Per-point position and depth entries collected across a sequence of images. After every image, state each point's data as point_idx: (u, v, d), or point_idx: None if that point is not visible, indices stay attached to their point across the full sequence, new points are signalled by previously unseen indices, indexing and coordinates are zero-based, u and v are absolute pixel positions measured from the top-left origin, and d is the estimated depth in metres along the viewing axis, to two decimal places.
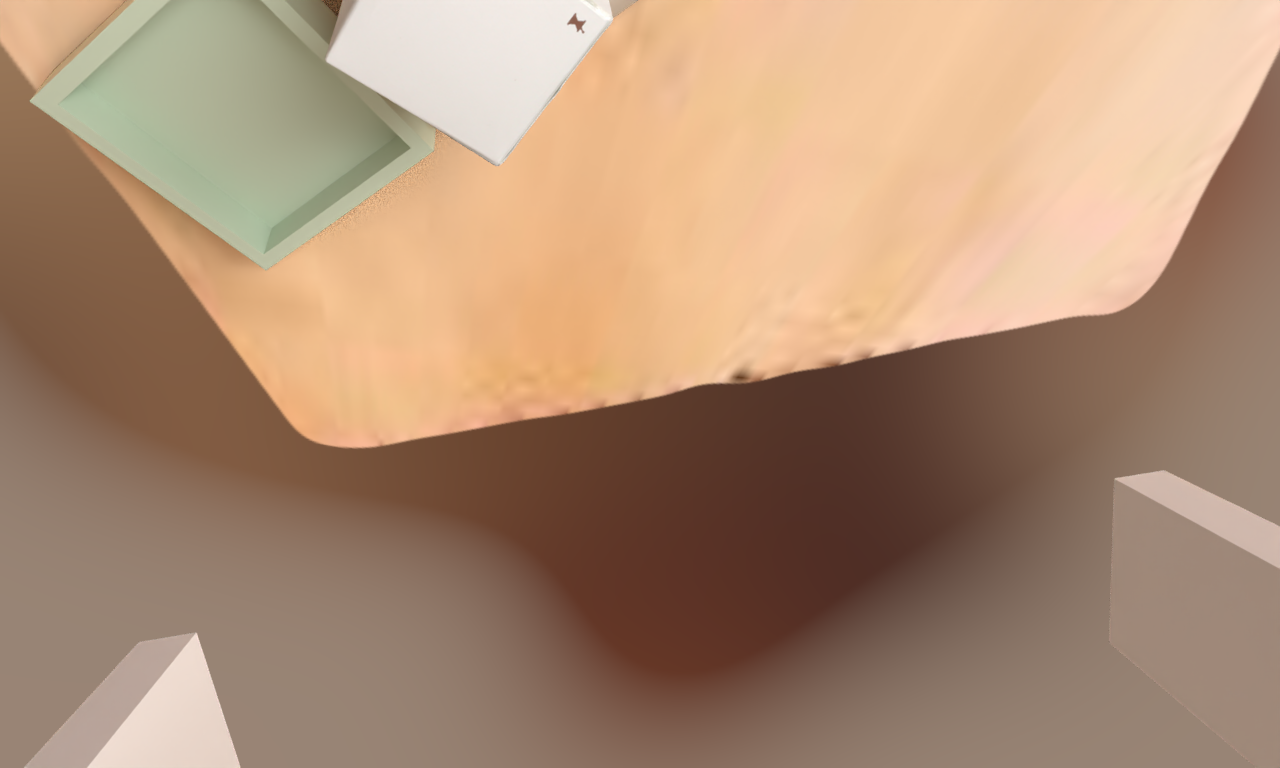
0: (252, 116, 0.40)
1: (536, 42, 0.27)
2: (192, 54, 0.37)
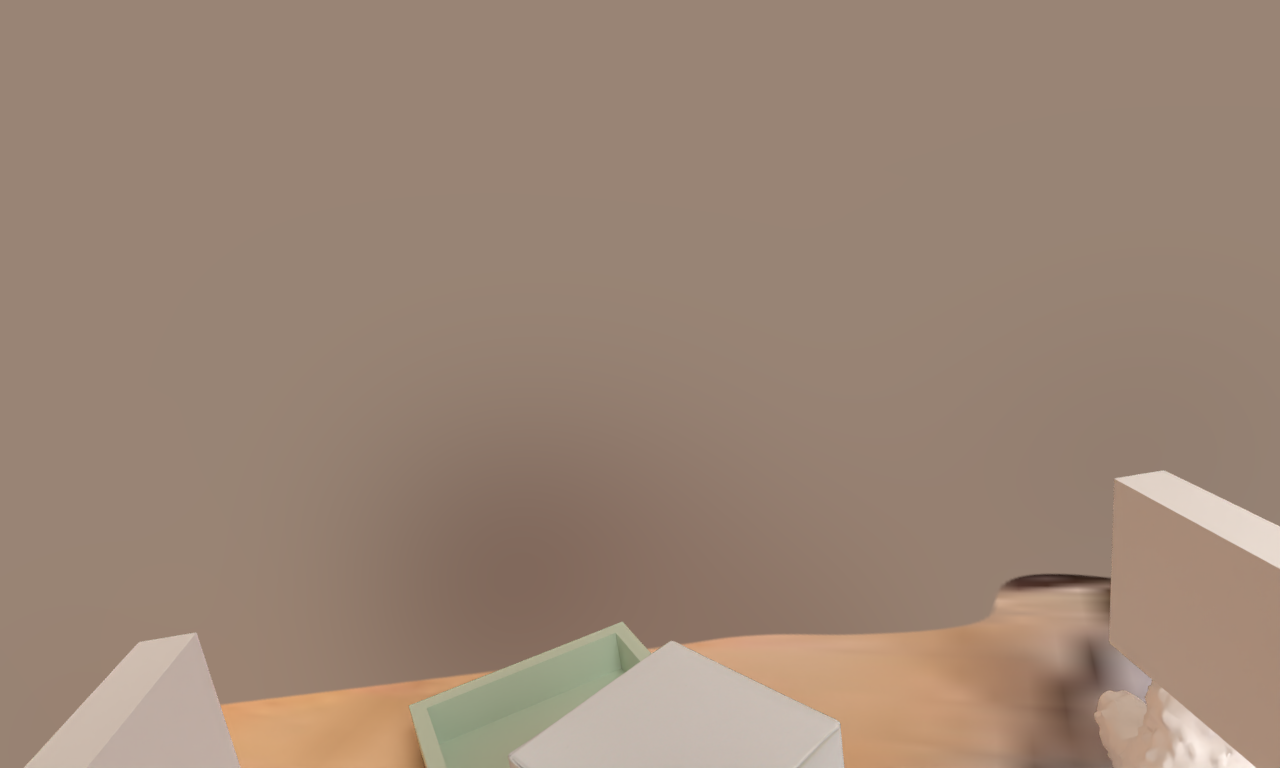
0: None
1: None
2: None
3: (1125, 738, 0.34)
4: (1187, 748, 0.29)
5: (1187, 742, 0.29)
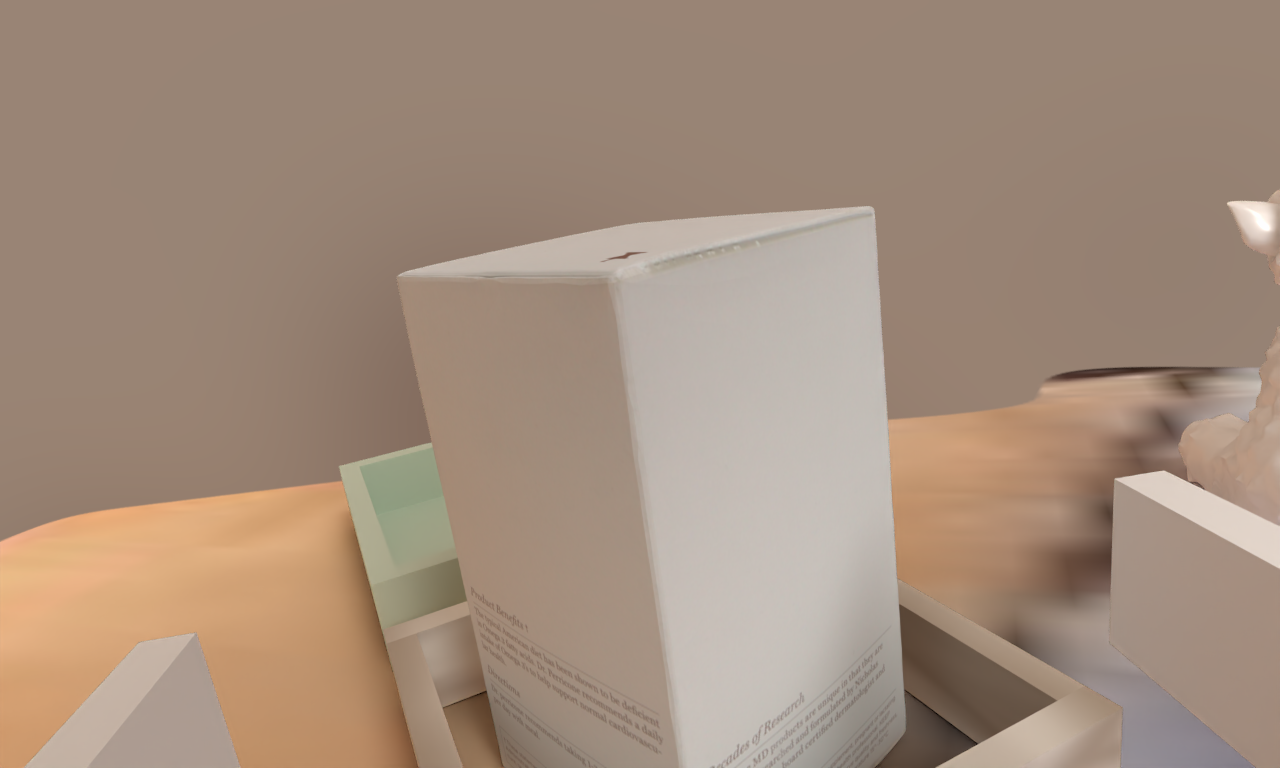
0: None
1: (604, 247, 0.14)
2: None
3: (1226, 445, 0.26)
4: None
5: None
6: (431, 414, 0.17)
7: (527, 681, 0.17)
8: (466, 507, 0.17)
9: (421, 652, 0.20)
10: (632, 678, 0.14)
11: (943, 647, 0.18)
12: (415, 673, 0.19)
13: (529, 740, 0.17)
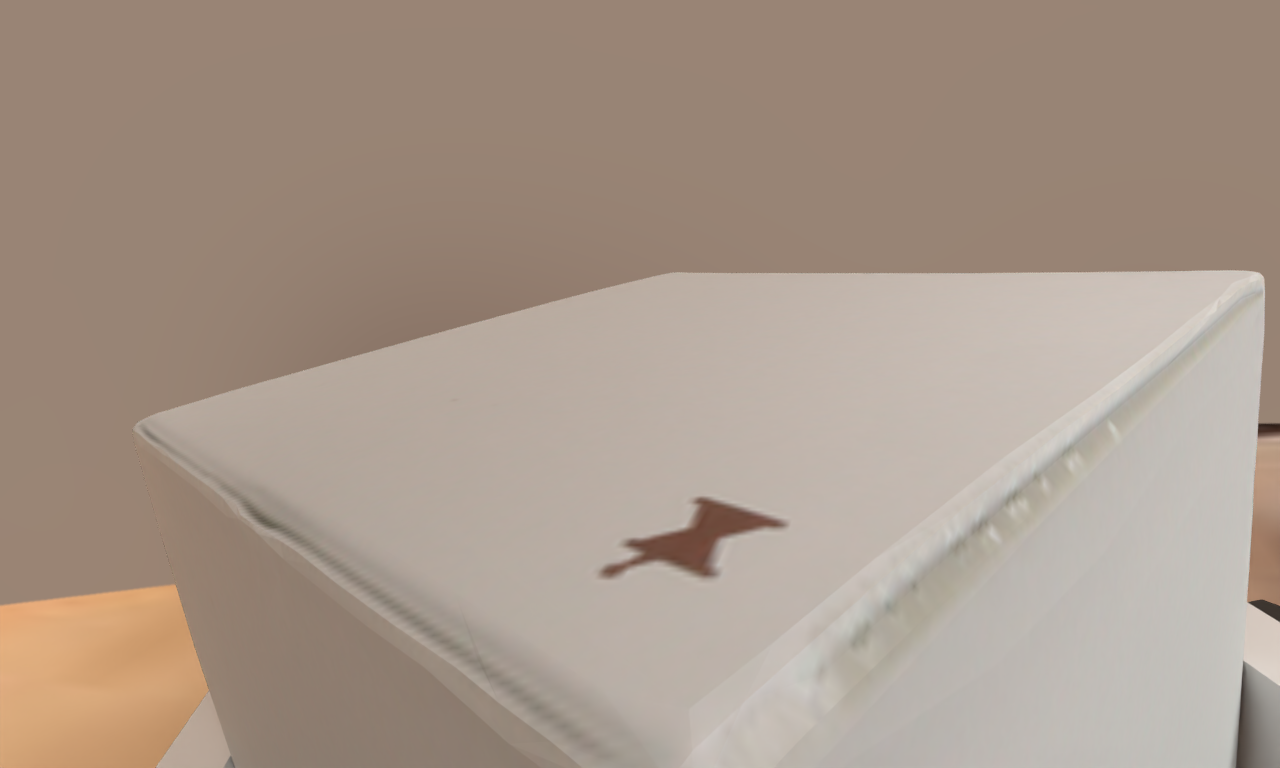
0: None
1: (610, 423, 0.05)
2: None
3: None
4: None
5: None
6: (222, 727, 0.07)
7: None
8: None
9: None
10: None
11: None
12: None
13: None
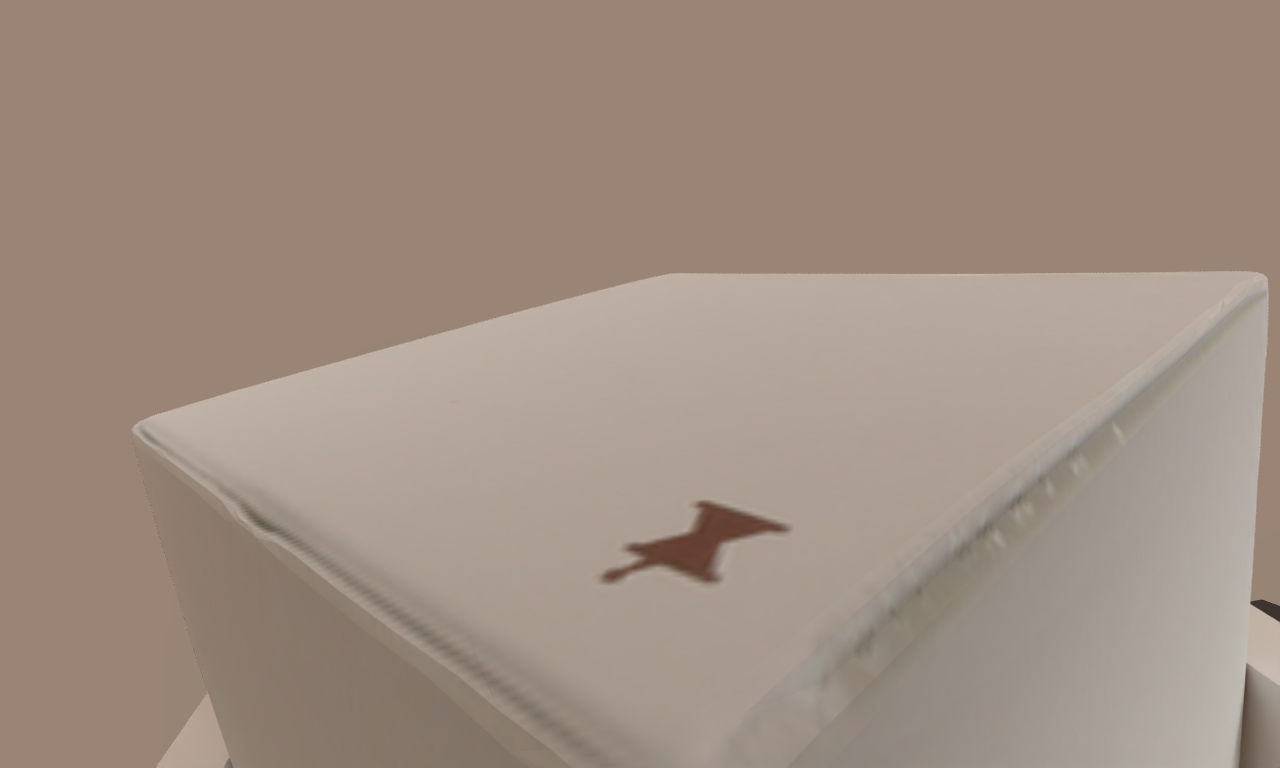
0: None
1: (614, 425, 0.04)
2: None
3: None
4: None
5: None
6: (221, 729, 0.07)
7: None
8: None
9: None
10: None
11: None
12: None
13: None
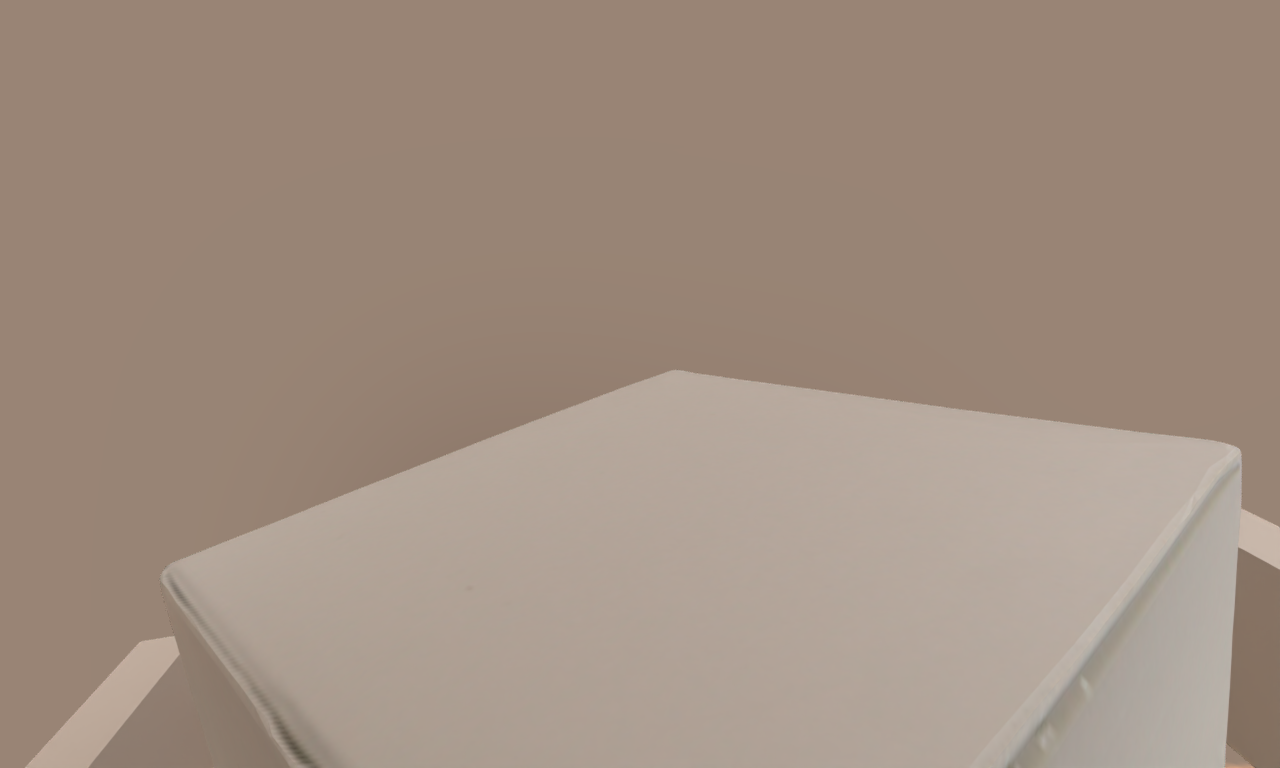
0: None
1: (619, 652, 0.05)
2: None
3: None
4: None
5: None
6: None
7: None
8: None
9: None
10: None
11: None
12: None
13: None
